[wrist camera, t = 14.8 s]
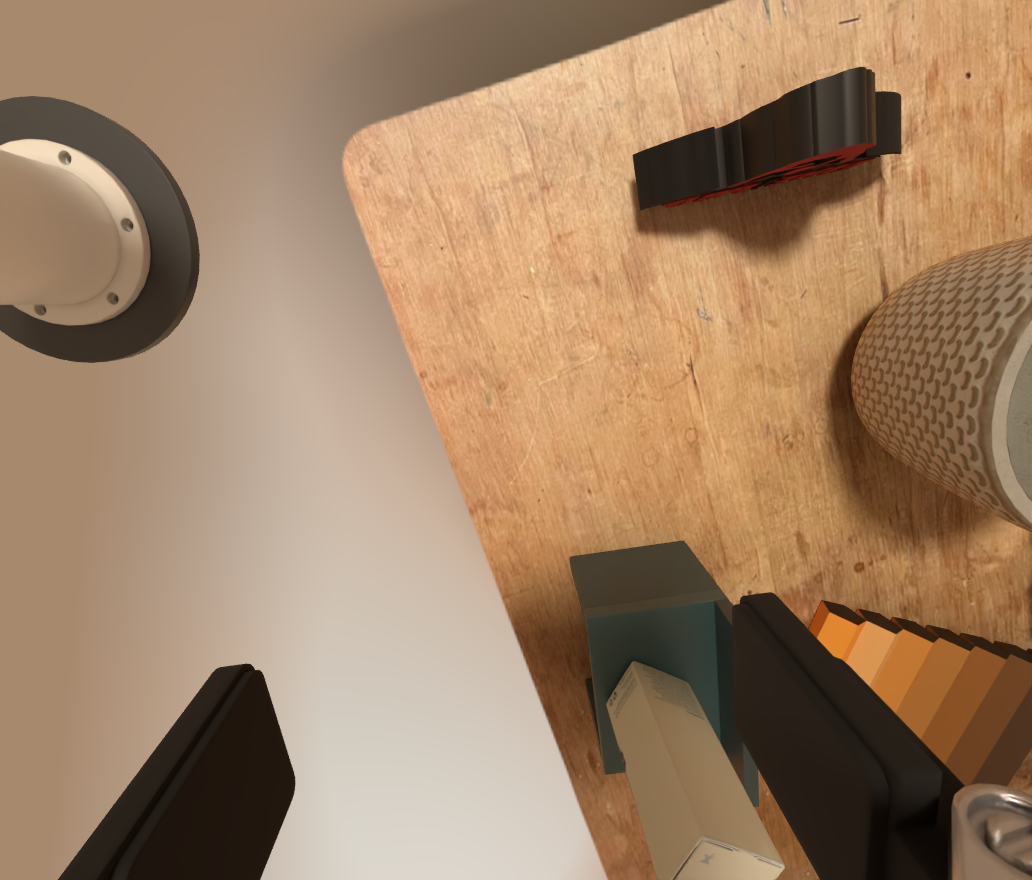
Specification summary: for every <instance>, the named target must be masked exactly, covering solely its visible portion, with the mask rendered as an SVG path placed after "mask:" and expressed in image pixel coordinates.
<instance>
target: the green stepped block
mask: <svg viewBox="0 0 1032 880" xmlns="http://www.w3.org/2000/svg"><path fill="white" fill-rule="evenodd" d="M570 565H571V570H572V574H573V578H574V582H575V586H576V590H577V594H578V597H579V601H580V605H581V609H582V613H583V617H584V620H585V626H586V634H587V643H588V651H589V659H590V667H591V675H592V679H588V680H585V682H586V690H587V695H588V699H589V704H590V708H591V713H592V718H593V722H594V727H595V731H596V736H597V740H598V745H599V749H600V754H601V759H602V763H603V768H604V772H605V775H608V774H615V773H622V772H626V770H625V766H624V763H623V760H622V756H621V753H620V749H619V746H618V743H617V740H616V736H615V733H614V730H613V726H612V723H611V719H610V716H609V712H608V709H607V705H606V704H607V702H608V700H609V698H610V696H611V695H612V693H613V691H614V690H615V688H616V687H617V685H618V683H619V681H620V680H621V678H622V677H623V675H624V673H625V672H626V670H627V669H628V667H629V666H630V664H631V662H632V661H637V662H639V663H642V664H645V665H647V666H650V667H652V668H655V669H657V670H660V671H662V672H665V673H667V674H669V675H672V676H674V677H677V678H679V679H681V680H683V681H686V682H688V683H689V684H690V686H691V688H692V690H693V692H694V694H695V696H696V698H697V700H698V702H699V703H700V705H701V707H702V709H703V711H704V713H705V715H706V717H707V719H708V721H709V723H710V724H711V726H712V728H713V730H714V732H715V734H716V736H717V738H718V740H719V741H720V743H721V745H722V747H723V749H724V751H725V753H726V755H727V757H728V759H729V761H730V763H731V765H732V766H733V768H734V770H735V772H736V774H737V776H738V778H739V780H740V782H741V784H742V785H743V787H744V789H745V791H746V793H747V795H748V797H749V799H750V801H751V803H752V805H753V807H759V785H758V768H757V766H756V764H755V762H754V761H753V759H752V757H751V755H750V753H749V752H748V750H747V748H746V746H745V744H744V743H743V741H742V739H741V737H740V735H739V733H738V731H737V728H736V724H735V720H734V707H733V642H732V608H733V605H732V603H731V602H730V601H729V599H728V598H727V597H726V596H725V594H724V593H723V592H722V590H721V589H720V588H719V586H718V585H717V584H716V582H715V581H714V580H713V578H712V577H711V576H710V575H709V573H708V572H707V571H706V569H705V568H704V567H703V565H702V564H701V563H700V561H699V560H698V559H697V557H696V556H695V555H694V553H693V552H692V551H691V549H690V548H689V547H688V545H687V544H686V543H685V542H684V541H678V542H671V543H664V544H657V545H650V546H643V547H636V548H629V549H622V550H615V551H608V552H601V553H594V554H587V555H580V556H573V557H570Z"/></svg>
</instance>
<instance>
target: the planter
mask: <svg viewBox="0 0 1032 880" xmlns="http://www.w3.org/2000/svg"><path fill="white" fill-rule="evenodd" d="M851 386H852V396H853V400H854V404H855V408H856V411H857V413H858V415H859V417H860V419H861V422H862V423H863V425H864V426H865V428H866V429H867V431H868V432H869V433H870V435H871V436H872V438H873V439H874V440H875V441H876V442H877V443H879V444H880V445H881V446H882V447H883V448H884V449H885V450H886V451H887V452H888V453H889V454H891V455H892V456H893V457H895V458H896V459H898V460H899V461H901V462H902V463H904V464H905V465H907V466H908V467H910V468H911V469H913V470H915V471H916V472H918V473H919V474H921V475H923V476H924V477H926V478H928V479H929V480H931V481H933V482H934V483H936V484H938V485H940V486H941V487H943V488H945V489H946V490H948V491H950V492H952V493H954V494H956V495H958V496H960V497H962V498H964V499H966V500H967V501H969V502H971V503H973V504H975V505H977V506H979V507H981V508H983V509H985V510H986V511H988V512H990V513H992V514H994V515H996V516H998V517H1000V518H1002V519H1004V520H1006V521H1008V522H1010V523H1012V524H1014V525H1016V526H1018V527H1021V528H1023V529H1026V530H1028V531H1030V532H1032V236H1028V237H1024V238H1020V239H1016V240H1012V241H1007V242H1003V243H999V244H995V245H991V246H988V247H984V248H980V249H976V250H973V251H969V252H966V253H963V254H960V255H957V256H954V257H952V258H949V259H947V260H945V261H942V262H940V263H938V264H935V265H933V266H931V267H929V268H927V269H925V270H924V271H922V272H920V273H919V274H917V275H915V276H914V277H912V278H911V279H909V280H908V281H906V282H905V283H904V284H903V285H901V286H900V287H899V288H898V289H896V290H895V291H894V292H893V293H892V294H891V295H890V296H889V297H888V298H887V299H886V300H885V301H884V302H883V303H882V304H881V305H880V307H879V308H878V309H877V311H876V312H875V313H874V315H873V316H872V317H871V319H870V320H869V322H868V324H867V326H866V328H865V329H864V331H863V333H862V335H861V338H860V340H859V343H858V345H857V348H856V351H855V356H854V360H853V364H852V375H851Z"/></svg>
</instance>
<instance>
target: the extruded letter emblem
mask: <svg viewBox="0 0 1032 880" xmlns="http://www.w3.org/2000/svg"><path fill="white" fill-rule="evenodd" d="M886 154H901V95H900V94H898V93H896V92H885V91H883V92H875V73H874V72H872V70H870V69H867V70H866V68H865V67H858V68H854V69H849V70H846V71H843V72H841V73H838V74H836V75H833V76H830V77H827V78H824V79H820V80H817V81H814V82H812V83H810V84H807V85H805V86H802V87H800V88H797V89H795V90H793V91H791V92H788V93H786V94H785V95H783V96H782V97H780V98H779V99H778V100H776V101H773V102H772V103H770V104H767V105H765V106H762V107H760V108H758V109H756V110H754V111H752V112H750V113H749V114H747V115H746V116H744V117H742V118H741V119H739V120H736V121H734V122H732V123H730V124H728V125H725V126H723V127H720V128H717V129H715V128H714V127H711V128H708V129H704V130H701V131H698V132H695V133H692V134H689V135H686V136H683V137H680V138H677V139H674V140H671V141H668V142H665V143H662V144H660V145H657V146H654V147H651V148H649V149H646V150H643V151H641V152H638V153H636V154H634V155H633V162H634V170H635V177H636V185H637V192H638V200H639V208H640V210H643V209H646V208H650V207H653V206H657V205H660V204H661V206H662V205H665V204H666V208H668V207H674V206H678V205H682V204H686V203H689V202H696V201H701V200H704V199H705V200H706V199H710V198H715V197H718V196H720V195H722V194H724V193H726V192H732V194H733V193H738V192H742V191H745V190H747V189H749V188H750V189H751V190H752V189H757V188H759V187H761V186H764V187H765V186H770V185H775V184H779V183H784V182H786V181H793V180H797V179H801V178H807V177H811V176H814V175H821V174H825V173H829V172H834V171H839V170H844V169H848V168H851V167H853V166H856V165H859V164H861V163H864V162H867V161H869V160H872V159H875V157H880V155H886Z"/></svg>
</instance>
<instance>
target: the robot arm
mask: <svg viewBox="0 0 1032 880" xmlns="http://www.w3.org/2000/svg"><path fill="white" fill-rule="evenodd" d="M150 257H151V252H150V240H149V235H148V231H147V227H146V224H145V220H144V218H143V216H142V213H141V211H140V209H139V207H138V205H137V203H136V201H135V200H134V198H133V197H132V195H131V194H130V192H129V191H128V189H127V188H126V187H125V185H124V184H123V183H122V182H121V181H120V180H119V179H118V178H117V177H116V176H115V174H114V173H113V172H111V171H110V170H109V169H108V168H106V167H105V166H104V165H103V164H101V163H100V162H99V161H97V160H96V159H94V158H92V157H90V156H88V155H87V154H85V153H83V152H81V151H79V150H76V149H74V148H71V147H68V146H66V145H63V144H59V143H55V142H51V141H47V140H38V139H23V140H17V141H10V142H8V143H5V144H3V145H0V305H13V306H15V307H16V308H18V309H19V310H21V311H23V312H25V313H27V314H29V315H31V316H33V317H35V318H37V319H40V320H44V321H47V322H50V323H54V324H61V325H88V324H95V323H101V322H104V321H106V320H109V319H112V318H114V317H116V316H117V315H119V314H120V313H122V312H123V311H125V310H126V309H127V308H128V307H129V306H130V305H131V304H132V303H133V302H134V301H135V300H136V299H137V297H138V296H139V294H140V292H141V291H142V289H143V287H144V285H145V282H146V279H147V276H148V273H149V267H150ZM732 642H733V707H734V720H735V724H736V728H737V731H738V733H739V735H740V737H741V739H742V741H743V743H744V744H745V746H746V748H747V750H748V752H749V753H750V755H751V757H752V759H753V761H754V762H755V764H756V766H757V768H758V769H759V771H760V773H761V775H762V777H763V778H764V780H765V782H766V784H767V786H768V787H769V789H770V791H771V793H772V794H773V796H774V798H775V800H776V802H777V803H778V805H779V807H780V809H781V811H782V812H783V814H784V816H785V818H786V819H787V821H788V823H789V825H790V827H791V828H792V830H793V832H794V834H795V836H796V837H797V839H798V841H799V843H800V844H801V846H802V848H803V850H804V852H805V853H806V855H807V857H808V859H809V861H810V862H811V864H812V866H813V868H814V869H815V871H816V873H817V875H818V877H819V878H820V880H1032V795H1029V794H1027V793H1025V792H1022V791H1020V790H1017V789H1013V788H1009V787H1005V786H1002V785H998V784H982V783H978V784H973V785H969V786H965V785H964V784H963V783H962V782H961V781H960V780H959V779H958V778H957V777H956V776H955V775H954V774H953V773H952V772H951V771H950V769H949V768H948V767H947V766H946V765H945V764H944V763H943V762H942V761H941V760H940V759H939V758H938V757H937V756H936V755H935V754H934V753H933V752H932V751H931V750H930V749H929V748H928V747H927V746H926V745H925V744H924V743H923V741H922V740H921V739H920V738H919V737H918V736H917V735H916V734H915V733H914V732H913V731H912V730H911V729H910V728H909V727H908V726H907V725H906V724H905V723H904V722H903V721H902V720H901V719H900V718H899V717H898V716H897V715H896V713H895V712H894V711H893V710H892V709H891V708H890V707H889V706H888V705H887V704H886V703H885V702H884V701H883V700H882V699H881V698H880V697H879V696H878V695H877V694H876V693H875V692H874V691H873V690H872V689H871V688H870V687H869V685H868V684H867V683H866V682H865V681H864V680H863V679H862V678H861V677H860V676H859V675H858V674H857V673H856V672H855V671H854V670H853V669H852V668H851V667H850V666H849V665H848V664H847V663H846V662H844V661H843V660H842V659H840V658H837V657H834V656H833V655H832V654H831V653H830V652H829V651H828V650H827V649H826V648H825V646H824V645H823V644H822V643H821V642H820V641H819V640H818V639H817V638H816V637H815V636H814V635H813V634H812V633H811V632H810V631H809V630H808V628H807V627H806V626H805V625H804V624H803V623H802V622H801V621H800V620H799V619H798V618H797V617H796V616H795V615H794V614H793V613H792V612H791V611H790V609H789V608H788V607H787V606H786V605H785V604H784V603H783V602H782V601H781V600H780V599H779V598H778V597H777V596H776V595H775V594H774V593H771V592H769V593H761V594H754V595H747V596H743V597H741V599H740V604H738V605H734V606H733V608H732ZM294 791H295V776H294V771H293V768H292V765H291V762H290V759H289V755H288V753H287V749H286V746H285V743H284V740H283V736H282V733H281V730H280V726H279V724H278V720H277V717H276V714H275V710H274V707H273V704H272V701H271V698H270V694H269V691H268V688H267V685H266V682H265V678H264V675H263V674H262V672H261V671H260V670H255V669H254V667H253V666H252V665H251V664H241V665H233V666H226V667H220V668H217V669H216V670H215V671H214V672H213V673H212V674H211V676H210V677H209V678H208V680H207V681H206V682H205V684H204V685H203V686H202V688H201V689H200V690H199V692H198V693H197V694H196V696H195V697H194V698H193V700H192V701H191V703H190V704H189V705H188V706H187V708H186V709H185V710H184V712H183V713H182V714H181V716H180V717H179V718H178V720H177V721H176V722H175V724H174V725H173V726H172V728H171V729H170V730H169V732H168V733H167V734H166V736H165V737H164V738H163V740H162V741H161V743H160V744H159V745H158V746H157V748H156V749H155V750H154V752H153V753H152V754H151V756H150V757H149V759H148V760H147V761H146V763H145V764H144V765H143V767H142V768H141V769H140V771H139V772H138V773H137V775H136V776H135V777H134V779H133V780H132V781H131V783H130V784H129V785H128V787H127V788H126V789H125V791H124V792H123V793H122V795H121V796H120V797H119V799H118V800H117V801H116V803H115V804H114V805H113V807H112V808H111V809H110V811H109V812H108V814H107V815H106V816H105V818H104V819H103V820H102V821H101V823H100V824H99V825H98V827H97V828H96V829H95V831H94V832H93V834H92V835H91V836H90V837H89V839H88V840H87V841H86V843H85V844H84V845H83V847H82V848H81V850H80V851H79V852H78V854H77V855H76V856H75V857H74V859H73V860H72V861H71V863H70V864H69V866H68V867H67V868H66V870H65V871H64V872H63V874H62V875H61V876H60V878H59V879H58V880H260V878H261V876H262V873H263V871H264V868H265V866H266V864H267V861H268V859H269V856H270V854H271V851H272V849H273V846H274V844H275V841H276V839H277V836H278V834H279V831H280V828H281V826H282V824H283V821H284V819H285V816H286V814H287V811H288V809H289V806H290V804H291V801H292V798H293V795H294Z"/></svg>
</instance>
